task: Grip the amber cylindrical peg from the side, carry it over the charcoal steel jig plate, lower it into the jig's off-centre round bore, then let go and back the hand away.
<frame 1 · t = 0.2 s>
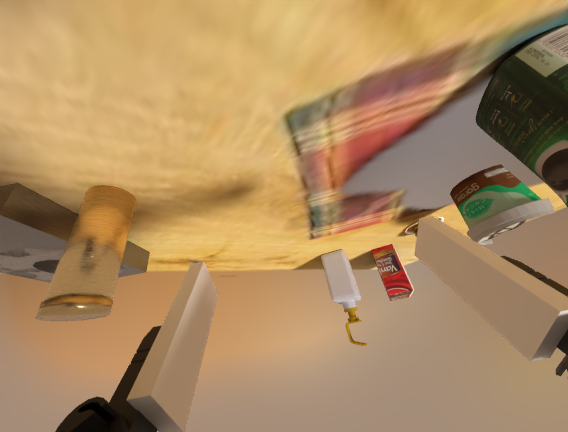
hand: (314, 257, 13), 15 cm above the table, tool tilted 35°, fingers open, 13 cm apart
ice cream box: (383, 254, 71), on the table
coffee jar: (520, 76, 22), on the table
hamburger: (421, 221, 53), on the table
food container: (463, 184, 39), on the table
jig: (55, 236, 32), on the table
soap bottle: (334, 256, 64), on the table
amber cylindrical peg: (112, 197, 27), on the table
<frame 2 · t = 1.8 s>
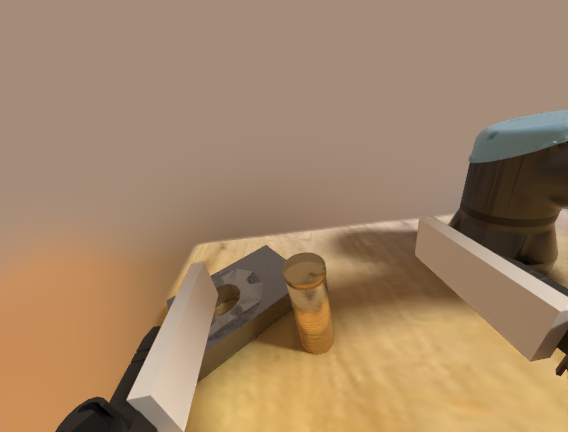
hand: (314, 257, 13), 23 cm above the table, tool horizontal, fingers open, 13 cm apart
jig: (242, 304, 40), on the table
amber cylindrical peg: (316, 336, 32), on the table
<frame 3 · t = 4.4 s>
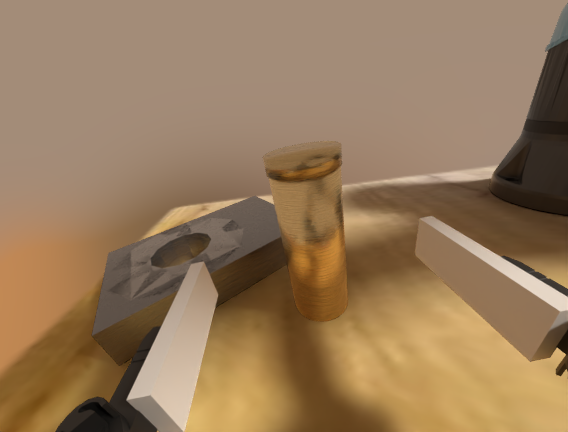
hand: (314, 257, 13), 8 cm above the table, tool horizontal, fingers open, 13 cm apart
jig: (216, 262, 28), on the table
amber cylindrical peg: (320, 298, 20), on the table
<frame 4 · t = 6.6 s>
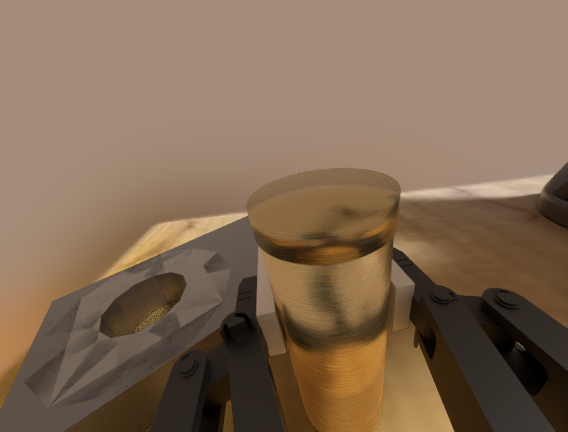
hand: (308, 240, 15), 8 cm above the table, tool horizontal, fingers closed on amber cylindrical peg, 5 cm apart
jig: (195, 310, 22), on the table
amber cylindrical peg: (339, 390, 14), on the table, touching gripper
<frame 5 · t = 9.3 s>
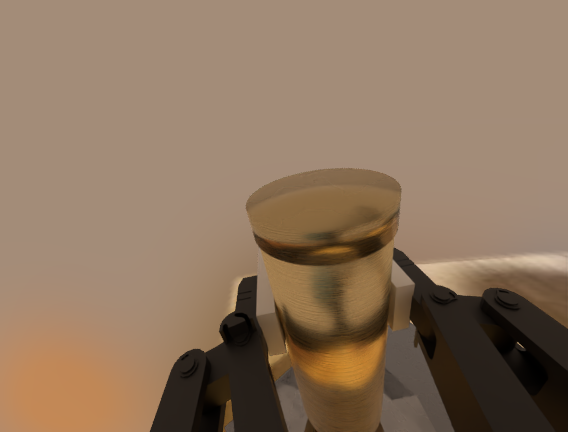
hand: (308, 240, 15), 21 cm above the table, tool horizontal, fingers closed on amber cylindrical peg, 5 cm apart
jig: (367, 431, 21), on the table
amber cylindrical peg: (339, 391, 14), point 13 cm above the table, touching gripper
when the fingers open (10 cm above the table, at t = 12.0 s): amber cylindrical peg drops 2 cm, resting in jig.
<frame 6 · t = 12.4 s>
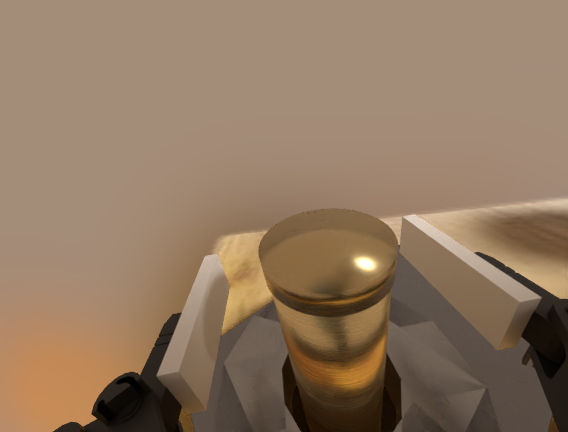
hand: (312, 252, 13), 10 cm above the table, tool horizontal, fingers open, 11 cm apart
jig: (367, 373, 16), on the table
amber cylindrical peg: (340, 406, 15), resting in jig
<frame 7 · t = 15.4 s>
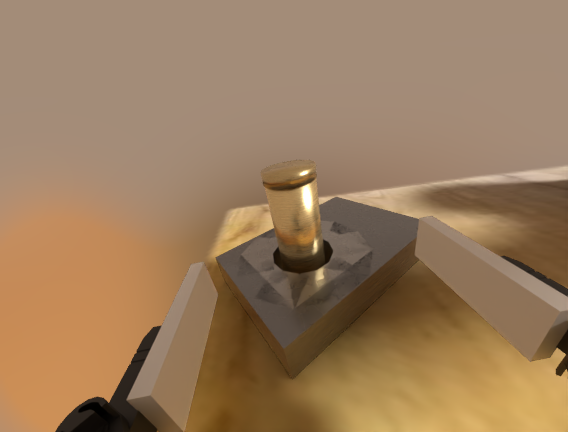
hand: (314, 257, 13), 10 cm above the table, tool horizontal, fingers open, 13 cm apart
jig: (323, 266, 27), on the table
amber cylindrical peg: (306, 278, 26), resting in jig
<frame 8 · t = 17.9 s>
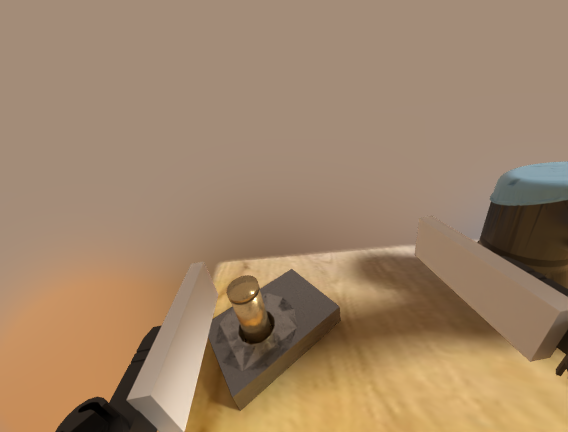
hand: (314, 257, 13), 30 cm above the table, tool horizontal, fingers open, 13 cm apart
jig: (274, 329, 42), on the table
amber cylindrical peg: (261, 339, 41), resting in jig
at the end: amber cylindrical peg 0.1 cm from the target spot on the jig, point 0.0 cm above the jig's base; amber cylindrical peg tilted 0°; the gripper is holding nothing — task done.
